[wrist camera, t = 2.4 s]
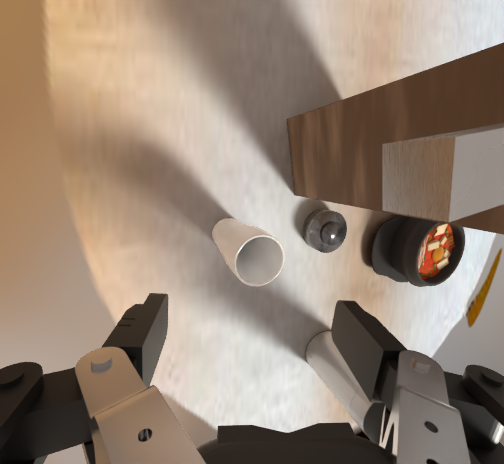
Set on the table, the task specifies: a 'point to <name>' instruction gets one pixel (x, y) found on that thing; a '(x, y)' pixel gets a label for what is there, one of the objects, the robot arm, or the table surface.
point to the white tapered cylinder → (249, 251)
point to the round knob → (324, 230)
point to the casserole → (417, 250)
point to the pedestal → (395, 130)
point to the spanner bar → (445, 174)
